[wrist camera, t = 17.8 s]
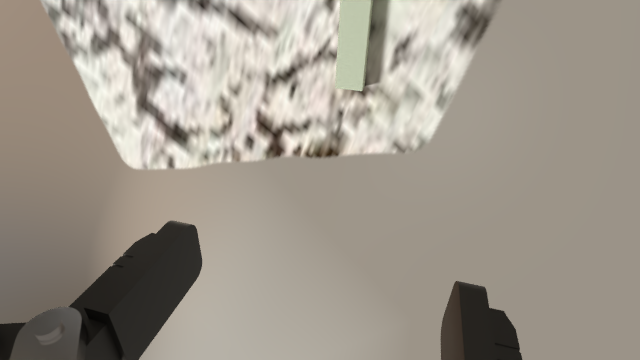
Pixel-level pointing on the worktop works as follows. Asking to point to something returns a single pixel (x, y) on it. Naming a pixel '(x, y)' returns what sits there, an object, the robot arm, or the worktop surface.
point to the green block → (353, 43)
